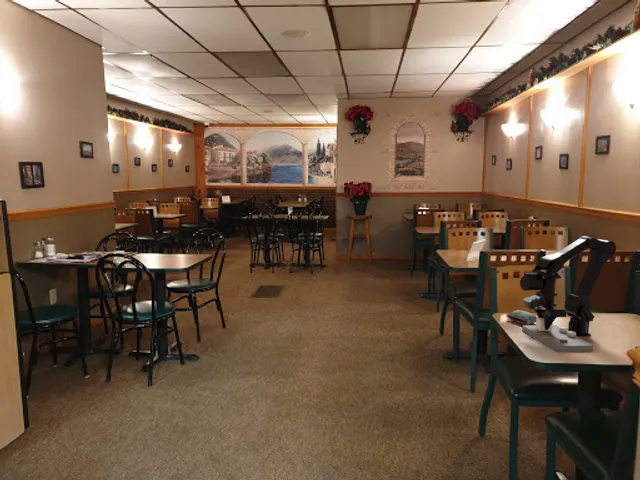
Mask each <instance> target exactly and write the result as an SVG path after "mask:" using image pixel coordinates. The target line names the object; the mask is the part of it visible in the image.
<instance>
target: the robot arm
mask: <svg viewBox="0 0 640 480" xmlns="http://www.w3.org/2000/svg"><path fill="white" fill-rule="evenodd" d="M588 249H590V250H589V257H590V259H589V262H588V264H587V266H586V269H585V271H584V273H583V275H582V277H581V279H580V282H579V284H578V286H577V289H576V291H575V292H573V293H569V294H567V297H566V299H565V301H564V308H562V307H560V306H558V307H557V303H556V302H555V298H556V297H557V296H558V293H557V292H556V286H557V280H558V279H562V276H561V275H560V274H559V272H560V271H561V270H562V269H563V268H564V266H565V264H566V263H567V262H568V261H570V260H571V259H574V258H575V257H576V256H578V255H580V254H582V253H583V252H584V251H586V250H588ZM616 251H617V246H616V243H615V242H614V241H612V240H607V239H601V238H597V239H596V238H594V237H592V236H587V235H582V236H579V238H578V239H577V240H575V241H574V242H572V243H569V245H567V246H565V247H564V248H562V249H560V250H559V251H557V252H554V253H551V254H547V255H545V256H544V255H543V256H541V257H540V258H539V260H538V262H537V263H536V265H535V266H534V268H533V269H532V271H531V272H524V274H523V276H522V277H521V278H520V280H519V286H520V288H521V289H522V290H523V291H525V292H526V291H535V295H530V296H527V297H525V298H523V299H522V301H523V304H524V307H525V308H527V309H529V310H533V311H534V312H535V313H536V316H537V317H538V318H540V317H544V326H545V330H548V329H549V327H550V326H551V324H552V323H553V324H554V321H555V320H556V319H557V318H567V317H569V321H568V326H567V328H568V331H573V332H576V336H577V337H579V336H580V337H581V336H583V337H584V336H592V334H591V333H589V328H590V322H593V321H594V319H595V315H594V313H592V311H591V310H590V307H591V299H590V297H591V294H592V292H593V290H594V287H595V284H596V283H597V280H598V278H599V276H600V274H601V273H602V269H603V267H604V265H605V264H606V263H607V262H608V261H610V260H611V259H612V258H613V256H614V255H615V253H616Z"/></svg>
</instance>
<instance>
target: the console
mask: <svg viewBox="0 0 640 480" xmlns="http://www.w3.org/2000/svg"><path fill="white" fill-rule="evenodd" d="M521 331H522V332H524V333H526V334H528V335H529V336H531V337H532V338H534V339H535V340H537V341H538V342H540V343H542V344H543V345H544V346H546V347H548V348H550V349H551V350H553V351H554V352H591V351H593V352H594V345H593V344H592V343H590V342H588V341H586V340H584V339H582V338H581V337H579V336H576V332H573V331H568V327H564V326H557V325H556V324H553V326H552V331H539V330H537V329H536V324H528V325H525V324H522V326H521Z"/></svg>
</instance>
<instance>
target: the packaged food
mask: <svg viewBox="0 0 640 480" xmlns="http://www.w3.org/2000/svg"><path fill="white" fill-rule="evenodd" d="M506 317H507V318H508V319H509V320H510V321H513V322H515V323H518V324H522V325H533V324H536V319H537V318H538V316H537V314H536V315H535V314H533V313H531V312H529V311H526V310H520V309H517V310H513V311H512V312H509V313H507V314H506Z"/></svg>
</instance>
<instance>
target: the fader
mask: <svg viewBox="0 0 640 480" xmlns="http://www.w3.org/2000/svg"><path fill="white" fill-rule="evenodd" d="M535 325H536V329H537V330H539V331H552V326H553V325H554V322H553V323H552V324H551V326H550V327H549V329H548V330H545V326H544V317H540V318H537V319H536V323H535Z"/></svg>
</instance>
